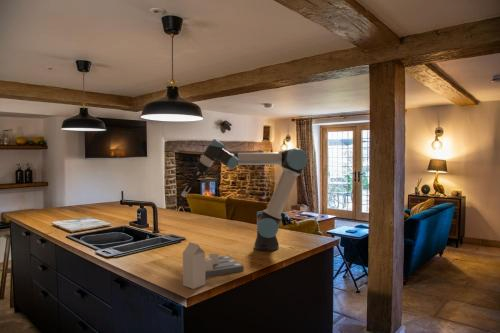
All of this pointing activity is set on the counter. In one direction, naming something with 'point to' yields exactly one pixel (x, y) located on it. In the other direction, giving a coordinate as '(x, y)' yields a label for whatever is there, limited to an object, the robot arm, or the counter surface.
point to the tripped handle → (214, 257)
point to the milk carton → (193, 266)
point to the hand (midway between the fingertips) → (184, 194)
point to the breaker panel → (222, 266)
